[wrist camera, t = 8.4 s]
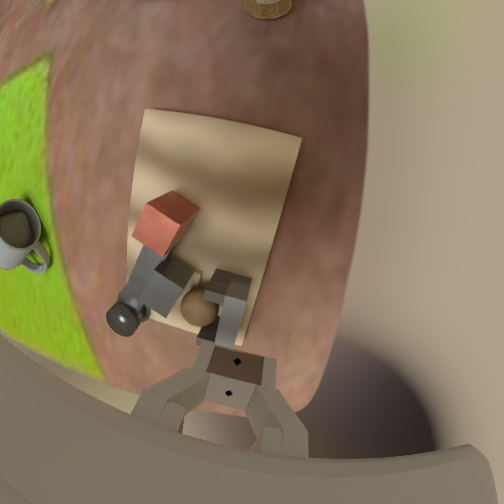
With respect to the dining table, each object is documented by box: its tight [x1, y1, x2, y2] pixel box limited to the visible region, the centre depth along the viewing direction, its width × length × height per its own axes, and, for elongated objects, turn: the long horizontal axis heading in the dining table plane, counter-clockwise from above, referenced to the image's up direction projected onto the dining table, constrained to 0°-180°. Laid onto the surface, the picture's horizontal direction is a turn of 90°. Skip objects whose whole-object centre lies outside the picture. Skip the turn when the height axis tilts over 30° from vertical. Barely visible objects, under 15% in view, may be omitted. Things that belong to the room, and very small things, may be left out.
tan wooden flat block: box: [117, 109, 302, 349], centre depth 24 cm, size 23×15×6 cm, turn 167°
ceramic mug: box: [0, 199, 50, 274], centre depth 25 cm, size 11×8×8 cm
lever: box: [106, 190, 200, 337], centre depth 24 cm, size 16×6×5 cm, turn 147°
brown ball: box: [180, 288, 219, 327], centre depth 25 cm, size 4×4×4 cm
